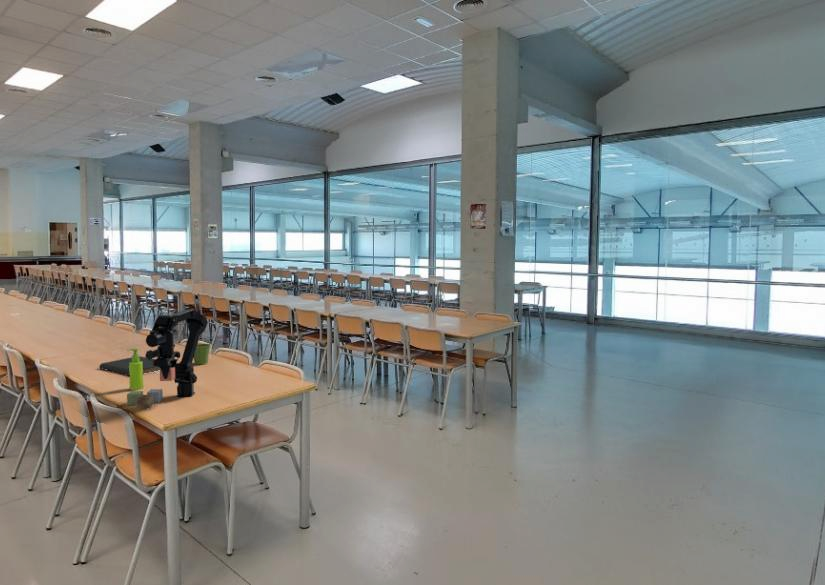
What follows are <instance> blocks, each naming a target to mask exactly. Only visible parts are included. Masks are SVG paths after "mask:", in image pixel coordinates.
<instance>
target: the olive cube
mask: <svg viewBox="0 0 825 585" xmlns="http://www.w3.org/2000/svg"><path fill="white" fill-rule="evenodd" d="M140 395H144V391H143V390H130V392H128V393H127V394H126V405H127V406H134V405H133V404H137V397H139V396H140Z"/></svg>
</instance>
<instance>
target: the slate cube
mask: <svg viewBox="0 0 825 585" xmlns="http://www.w3.org/2000/svg"><path fill="white" fill-rule="evenodd" d="M163 394H164V391H163V389H162V388H161V389H160V388H158V389H157V388H156V389H153V388H152V389H150V390H148V391H146V395H153V402H159V403H161V402H162V401H163V400H164V399H163V398H164V397H163ZM162 399H163V400H162ZM161 400H162V401H161ZM160 401H161V402H160Z"/></svg>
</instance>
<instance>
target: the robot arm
mask: <svg viewBox="0 0 825 585" xmlns="http://www.w3.org/2000/svg"><path fill="white" fill-rule="evenodd" d="M154 321H155V322H154V323H153V326H152V328H151V330H150V331H149V334H147V336H146V339H145V343H146V345H147V346H148V347H150V348H154V347H157V348H156V349H153V350H152V349H150V350H147V351H146V352H145V354H144V355H145V356H144V357H146V358H148V360H151V359H155V360H154V361H153V366H158V367H159V368H160V369H161V371H162V374H163V377H164V379H167V377H168V374H169V371H170V368H171V367H175V379H173V380H174V383H175V384H177V386H176V397H178V398H182V397H183V398H185V397H193V395H194V394H195V393H196V391H194V390H195V388H194V386H195V385H194V384H196V382H197V380H198V376H197V375H196V374H195V373H194V371H195V368H194V365H193V362H194V354H195V351H196V347H197V344H199V340H200V336H201V335H202V334H203V333H204V332H205V331H206V328H207V326H208V319H207V318H206V317H205V315H203V314H202V313H200V312H198V311H197V310H196V309H195V308H186V309H183V310H180V311H178V312H175V313H172V314H160V315H158V316H157V317H156V320H154ZM183 321H185V322H186V324H187V329H188V336H187V339H186V340H187V341H186V343H185V346H184V349H183V353H182V358H181V352H180V351H178V350H175V347H176V344H175V341H174V333H175V332H177V330H176V329H175V327H176V326H178V323H180V322H183ZM179 358H181V360H180V361H179ZM178 361H179V362H178Z"/></svg>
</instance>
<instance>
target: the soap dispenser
mask: <svg viewBox="0 0 825 585" xmlns="http://www.w3.org/2000/svg"><path fill="white" fill-rule="evenodd" d="M126 351H133V354H132V355H131V357H132V362H130V363H129V374H130V376H129V390H130V389H131V390H130V391H139V390H138V389H140V390H142V388H143V389H144V375H143V363H142V362H141V361H140V358H139V356H140V354H138V351H140V348H132V347H131V348H129V349H126Z"/></svg>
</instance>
